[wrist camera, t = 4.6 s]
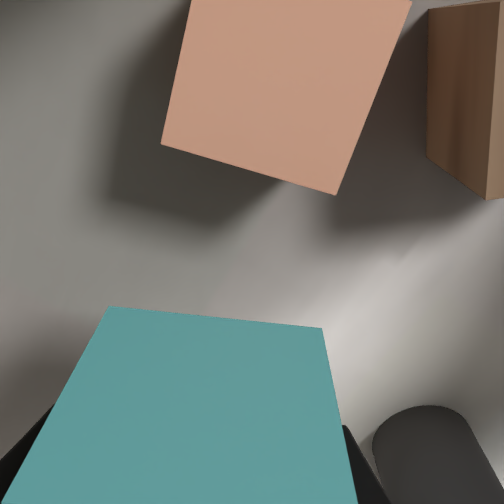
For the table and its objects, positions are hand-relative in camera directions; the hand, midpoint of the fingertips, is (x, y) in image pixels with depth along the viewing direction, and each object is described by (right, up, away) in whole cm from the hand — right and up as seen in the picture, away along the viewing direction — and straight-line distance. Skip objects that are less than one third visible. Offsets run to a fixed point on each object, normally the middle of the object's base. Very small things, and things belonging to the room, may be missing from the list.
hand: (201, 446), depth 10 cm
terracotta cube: (+2, +11, +6) cm, 12 cm away
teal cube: (0, +1, +2) cm, 2 cm away
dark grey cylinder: (+10, -5, +14) cm, 18 cm away
